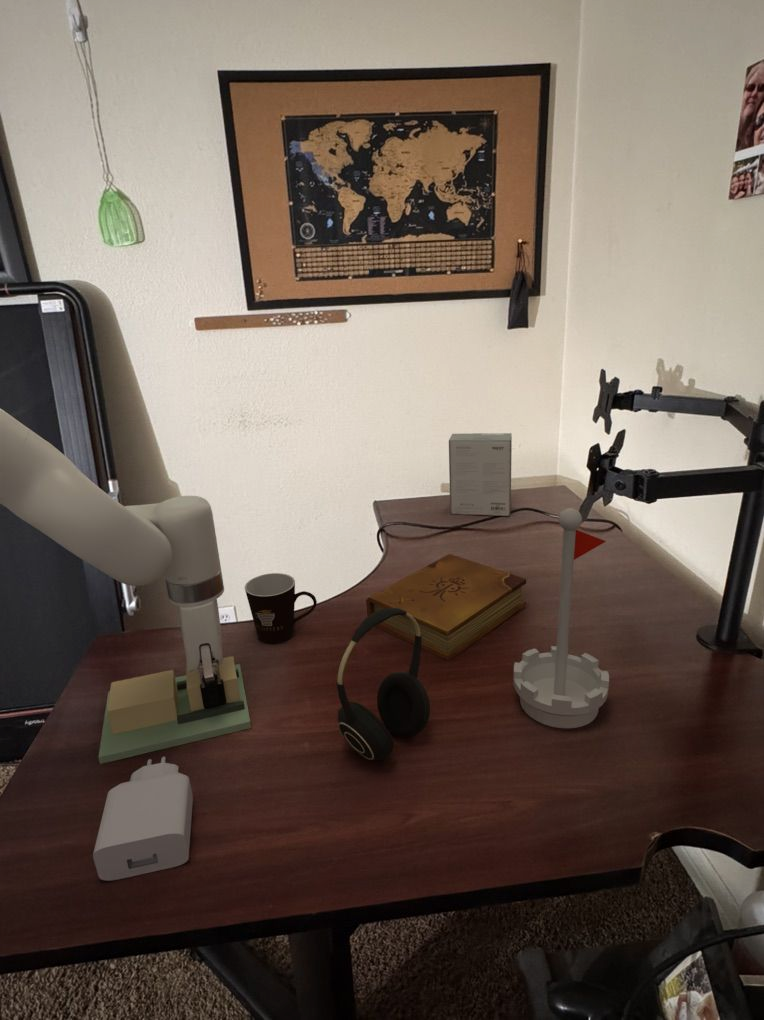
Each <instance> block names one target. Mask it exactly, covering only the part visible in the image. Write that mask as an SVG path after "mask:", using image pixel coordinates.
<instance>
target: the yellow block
mask: <svg viewBox="0 0 764 1020" xmlns="http://www.w3.org/2000/svg"><path fill="white" fill-rule="evenodd" d="M222 658H223V662H222V663H221V665H220V666H219V671H220V677H221V679H223V684H224V690H225V696H226V704H228V703H232V702H237V701H240V695H239V688H238V682H237V676H236V670H235V665H236V664H235V659H234V655H232V656H227V657H222ZM214 661H215V660H212V662H214ZM201 664H203V663H201ZM213 672H214V673H215V674H216V670H215V667H213ZM203 673H204V670H203ZM185 675H186V681H187V693H188V698H189V703H190V708H191V712H193V711H197V710H202V709H205V708H204V706H203V700H202V695H201V689H200V684H201V681H200V675H199V669H198V667H197V670H193V671H192V672H191V671H189V670H188V668H187V665H185Z"/></svg>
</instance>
